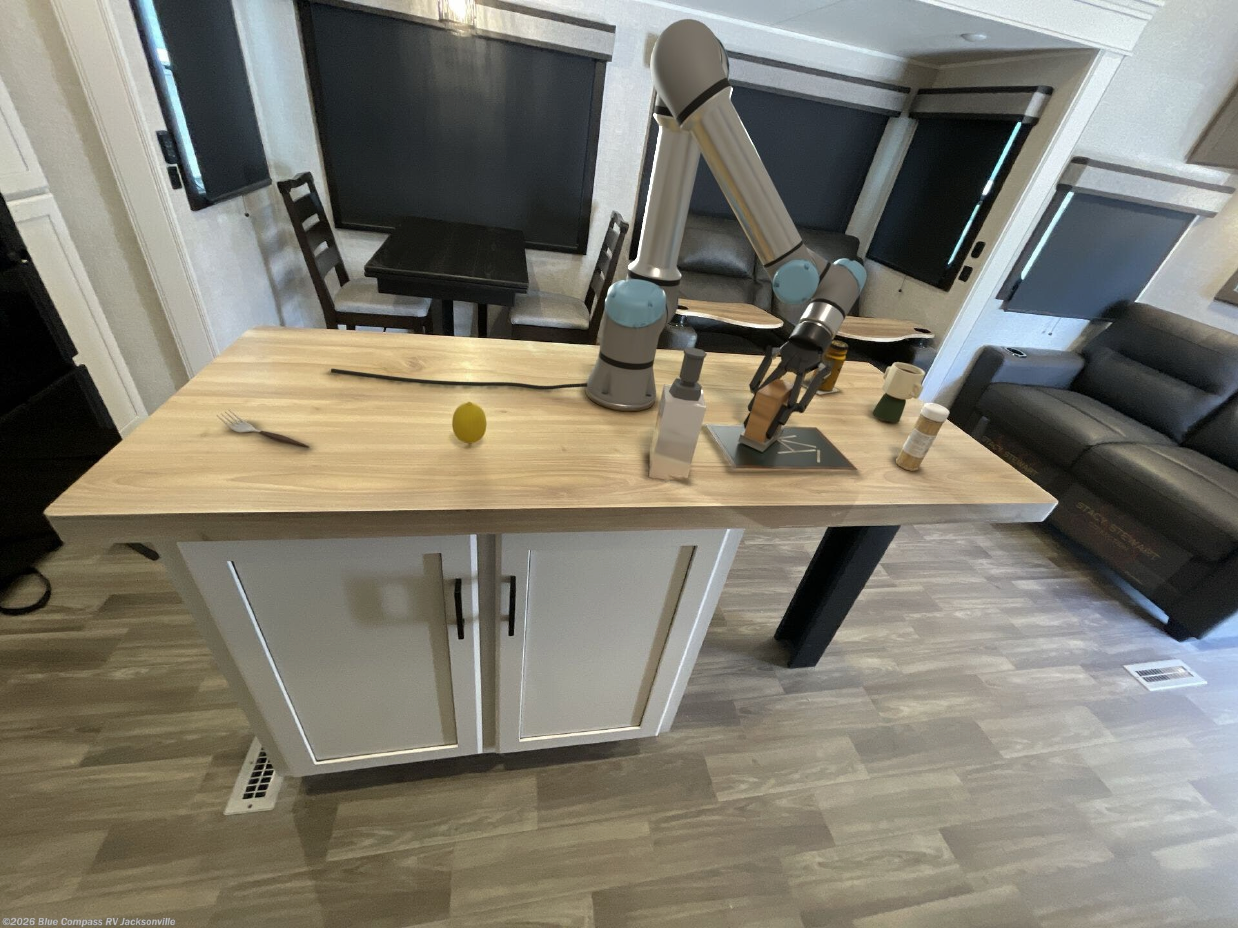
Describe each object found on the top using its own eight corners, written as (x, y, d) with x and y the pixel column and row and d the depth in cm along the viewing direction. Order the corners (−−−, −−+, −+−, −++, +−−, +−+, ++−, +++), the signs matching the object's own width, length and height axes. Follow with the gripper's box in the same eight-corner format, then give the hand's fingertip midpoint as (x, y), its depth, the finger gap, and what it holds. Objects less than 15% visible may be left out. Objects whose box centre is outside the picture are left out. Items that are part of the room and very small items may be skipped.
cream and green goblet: (912, 429, 123) (939, 379, 116) (889, 430, 121) (915, 379, 114) (880, 407, 132) (903, 358, 125) (858, 408, 129) (880, 358, 122)
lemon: (457, 454, 88) (456, 412, 83) (449, 437, 92) (448, 396, 87) (490, 450, 90) (491, 408, 86) (481, 433, 94) (481, 393, 90)
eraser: (762, 452, 101) (779, 400, 95) (738, 441, 103) (753, 390, 97) (782, 434, 108) (799, 386, 102) (758, 425, 111) (774, 376, 105)
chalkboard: (732, 472, 96) (733, 467, 95) (703, 427, 109) (704, 423, 108) (855, 473, 102) (857, 469, 102) (814, 431, 115) (816, 427, 115)
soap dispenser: (682, 455, 98) (711, 342, 86) (686, 482, 91) (718, 363, 79) (648, 450, 98) (672, 336, 86) (649, 477, 91) (675, 356, 79)
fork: (303, 454, 82) (301, 443, 81) (218, 426, 84) (215, 415, 83) (316, 446, 84) (314, 435, 83) (232, 419, 86) (229, 408, 85)
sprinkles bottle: (904, 458, 111) (934, 401, 103) (922, 470, 107) (955, 412, 100) (890, 461, 109) (919, 402, 101) (908, 473, 105) (940, 414, 98)
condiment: (839, 391, 137) (857, 347, 130) (819, 395, 132) (837, 350, 126) (817, 379, 142) (833, 336, 135) (796, 383, 137) (813, 338, 131)
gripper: (856, 356, 104) (799, 456, 101) (775, 329, 111) (720, 421, 109) (859, 335, 97) (798, 442, 94) (773, 308, 105) (714, 406, 102)
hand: (756, 431), depth 101 cm, fingers closed on eraser, 4 cm apart
